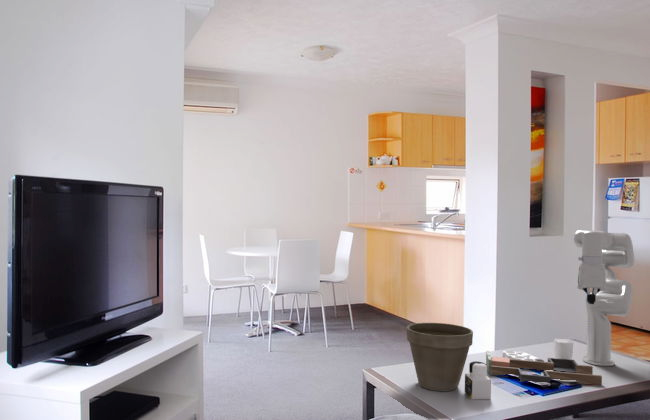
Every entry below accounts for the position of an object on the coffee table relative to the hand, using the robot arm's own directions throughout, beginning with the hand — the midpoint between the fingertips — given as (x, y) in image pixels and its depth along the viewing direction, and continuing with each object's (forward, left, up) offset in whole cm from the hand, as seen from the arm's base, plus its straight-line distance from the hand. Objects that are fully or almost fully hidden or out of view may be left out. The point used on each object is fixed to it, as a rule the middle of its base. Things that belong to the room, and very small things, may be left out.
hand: (591, 303), depth 216 cm
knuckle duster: (-7, -26, -30) cm, 40 cm away
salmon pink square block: (+8, -37, -29) cm, 47 cm away
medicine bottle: (+45, -48, -29) cm, 72 cm away
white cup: (-12, -8, -29) cm, 33 cm away
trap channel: (+10, -21, -29) cm, 37 cm away
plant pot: (+37, -62, -29) cm, 78 cm away
